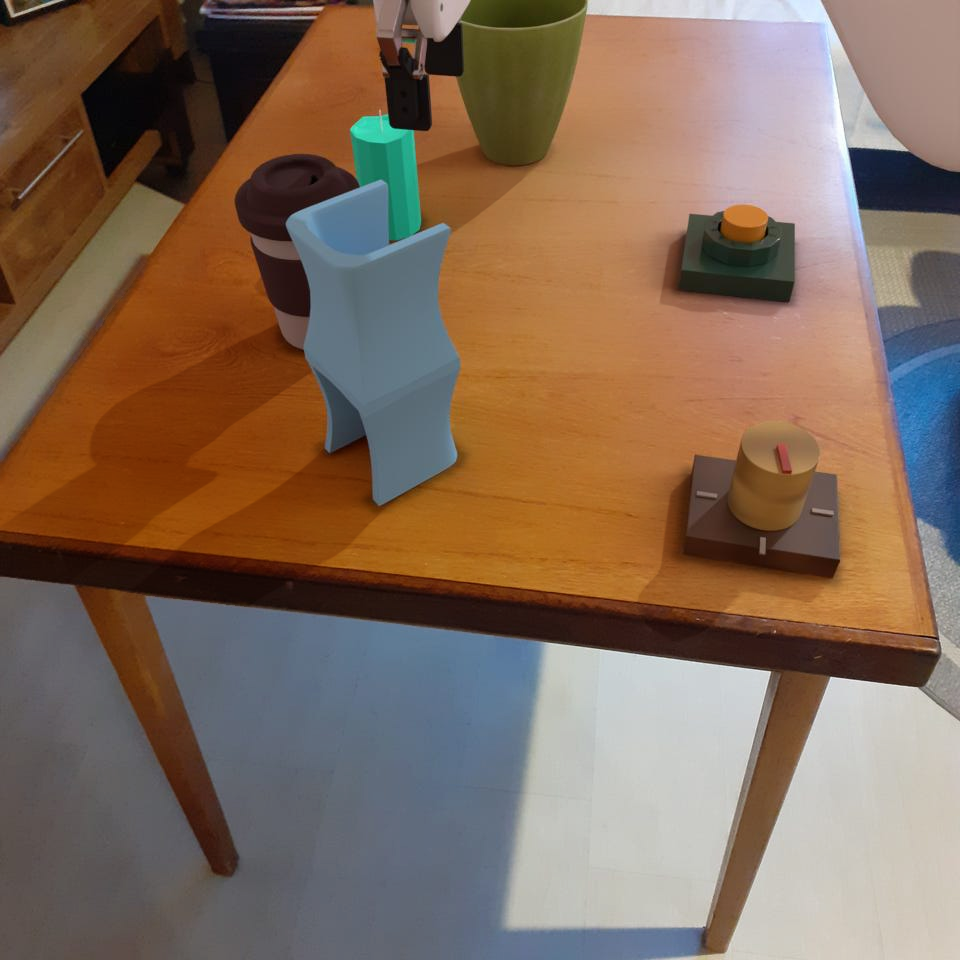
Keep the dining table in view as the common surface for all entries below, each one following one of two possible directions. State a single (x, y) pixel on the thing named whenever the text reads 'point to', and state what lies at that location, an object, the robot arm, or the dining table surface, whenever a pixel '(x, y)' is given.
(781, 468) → the knob
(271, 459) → the dining table surface
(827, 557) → the dimmer
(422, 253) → the light blue open shell
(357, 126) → the candle
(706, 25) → the dining table surface
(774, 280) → the switch box
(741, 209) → the button
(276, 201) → the coffee cup
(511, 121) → the flower pot
